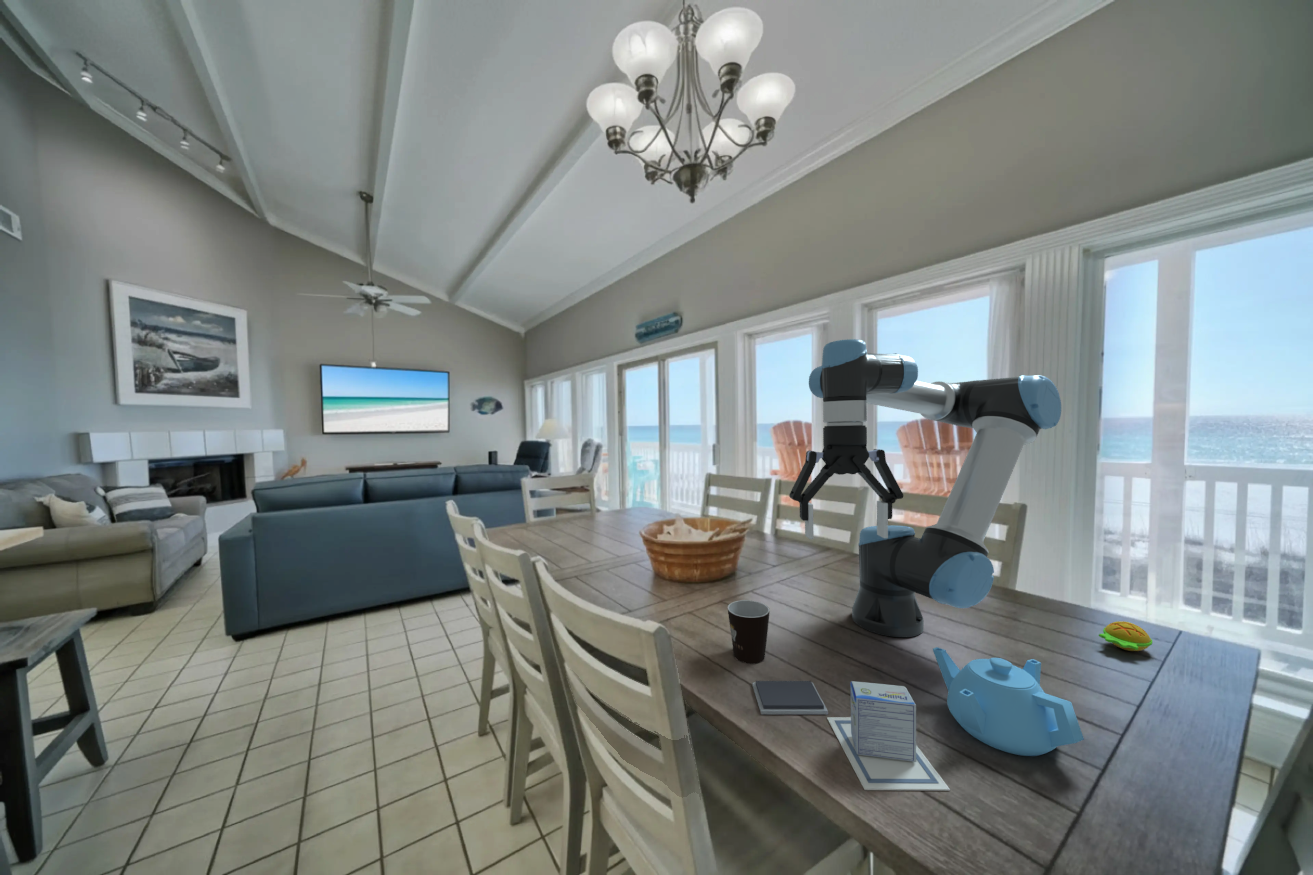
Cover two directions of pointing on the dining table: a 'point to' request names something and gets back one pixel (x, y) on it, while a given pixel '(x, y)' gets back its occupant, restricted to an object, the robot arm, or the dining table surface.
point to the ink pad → (788, 697)
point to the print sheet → (887, 766)
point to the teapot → (1007, 705)
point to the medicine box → (883, 721)
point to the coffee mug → (749, 630)
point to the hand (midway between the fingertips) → (845, 537)
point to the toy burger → (1126, 636)
